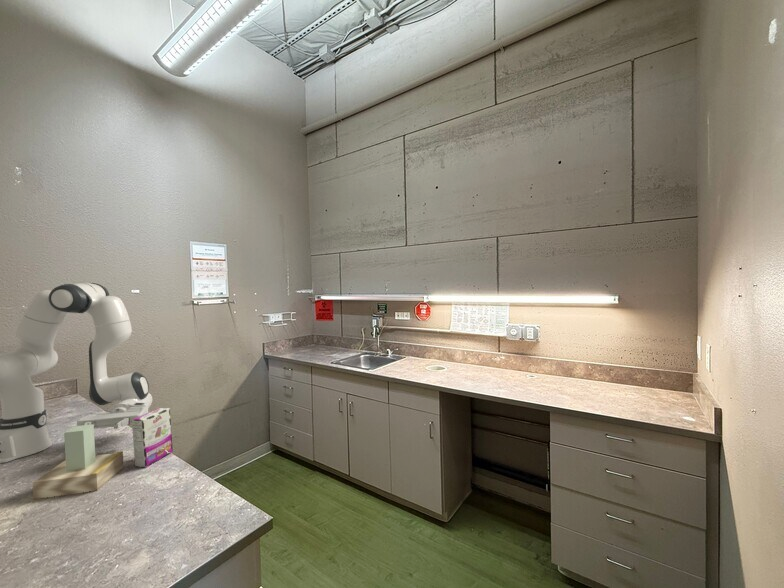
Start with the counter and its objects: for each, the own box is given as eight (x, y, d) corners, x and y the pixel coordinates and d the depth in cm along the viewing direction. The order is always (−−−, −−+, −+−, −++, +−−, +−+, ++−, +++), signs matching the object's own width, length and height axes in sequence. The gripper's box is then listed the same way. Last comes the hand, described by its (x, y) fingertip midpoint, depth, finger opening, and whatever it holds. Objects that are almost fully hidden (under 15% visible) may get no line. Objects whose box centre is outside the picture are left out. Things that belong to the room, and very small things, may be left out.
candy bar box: (161, 451, 126) (159, 407, 126) (173, 452, 125) (171, 407, 125) (133, 467, 115) (130, 419, 115) (145, 468, 114) (143, 419, 114)
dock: (33, 499, 99) (32, 481, 98) (68, 473, 112) (67, 458, 112) (97, 490, 102) (96, 473, 102) (123, 466, 116) (122, 451, 116)
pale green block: (66, 471, 104) (64, 432, 104) (77, 463, 109) (75, 426, 109) (85, 468, 105) (83, 430, 105) (95, 460, 110) (93, 424, 110)
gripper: (91, 408, 128) (64, 422, 115) (151, 402, 132) (132, 415, 119) (91, 424, 128) (65, 440, 115) (152, 418, 133) (133, 433, 119)
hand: (100, 428), depth 117 cm, fingers open, 8 cm apart
